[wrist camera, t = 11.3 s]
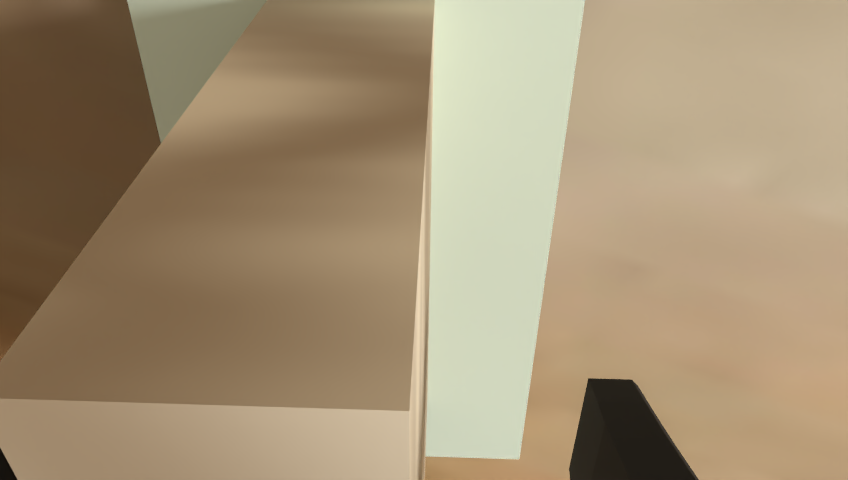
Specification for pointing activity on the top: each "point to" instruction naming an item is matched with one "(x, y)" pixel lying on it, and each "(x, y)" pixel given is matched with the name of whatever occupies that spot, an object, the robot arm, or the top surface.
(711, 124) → the top surface
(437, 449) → the rest board
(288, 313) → the tan wooden block
